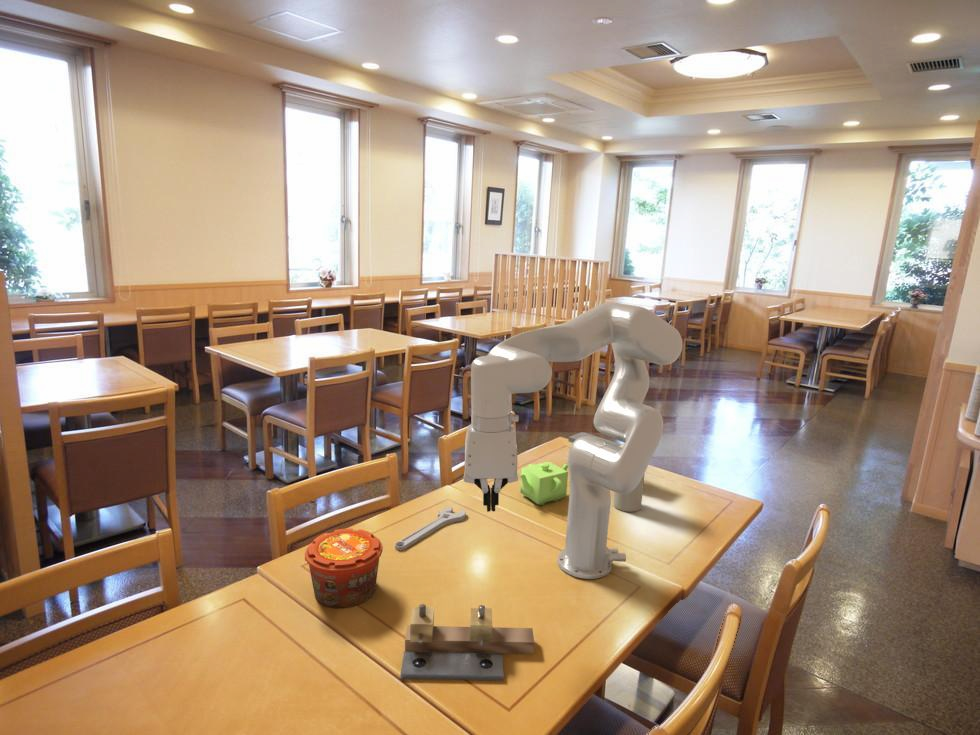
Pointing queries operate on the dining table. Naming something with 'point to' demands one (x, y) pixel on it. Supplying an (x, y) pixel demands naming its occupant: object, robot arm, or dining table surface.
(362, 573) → the food container
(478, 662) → the flange plate
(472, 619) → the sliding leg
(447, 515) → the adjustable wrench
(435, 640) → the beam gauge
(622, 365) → the robot arm
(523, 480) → the teapot
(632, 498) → the travel mug
